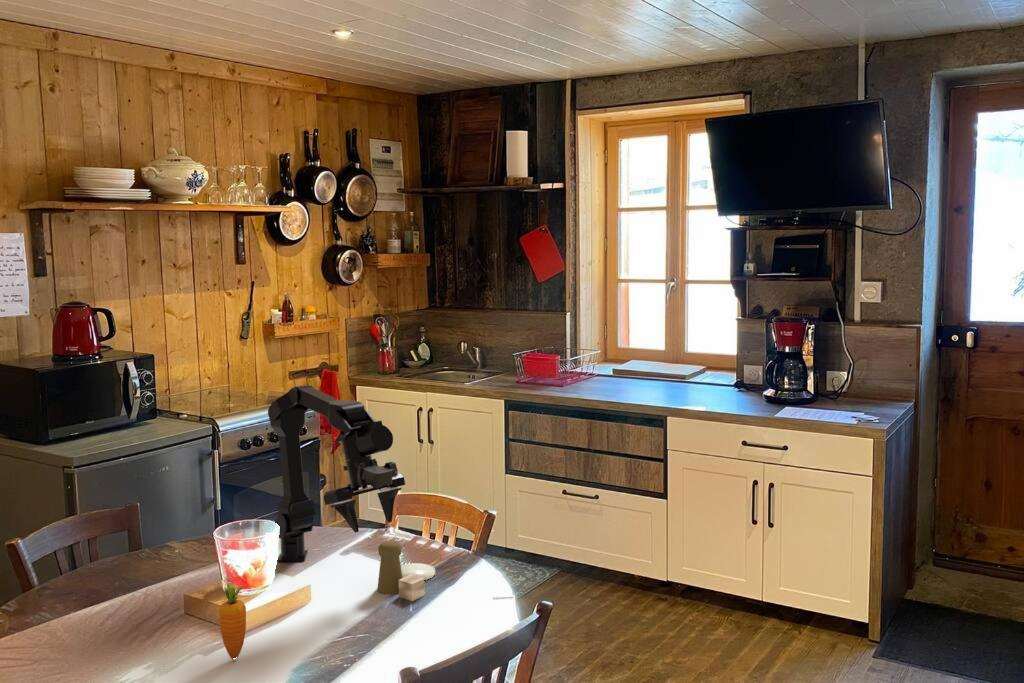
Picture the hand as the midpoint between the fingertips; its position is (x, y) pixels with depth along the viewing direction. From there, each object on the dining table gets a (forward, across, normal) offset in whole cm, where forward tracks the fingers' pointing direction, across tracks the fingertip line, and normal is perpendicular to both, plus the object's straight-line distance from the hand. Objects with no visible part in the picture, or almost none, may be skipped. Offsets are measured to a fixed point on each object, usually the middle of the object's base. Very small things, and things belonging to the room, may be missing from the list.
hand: (373, 527), depth 198 cm
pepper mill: (+15, +4, +4) cm, 16 cm away
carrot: (+16, -38, -1) cm, 41 cm away
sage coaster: (+14, +13, +7) cm, 20 cm away
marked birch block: (+17, +4, -2) cm, 18 cm away
